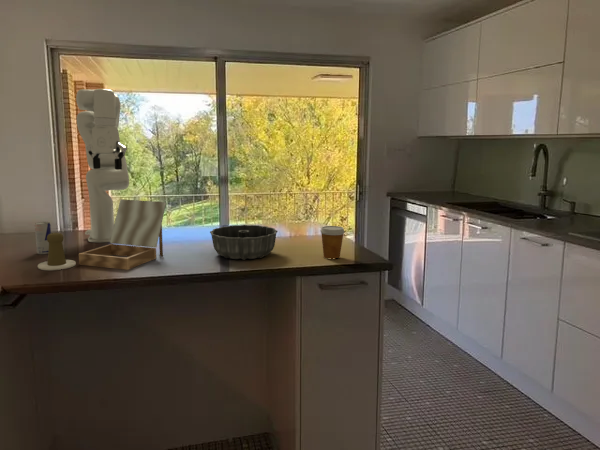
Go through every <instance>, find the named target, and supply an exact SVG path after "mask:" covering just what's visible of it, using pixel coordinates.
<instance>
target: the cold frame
mask: <svg viewBox="0 0 600 450" xmlns="http://www.w3.org/2000/svg"><path fill="white" fill-rule="evenodd" d="M118 204H119V205H118V208H117V212H116V215H115V219H114V228H113V232H112V236H111V241H110V242H109V244H106V245H103V246H99V247H96V248H93V249H90V250H87V251H83V252H79V253H78V265H80V266H81V265H82V266H90V267H99V268H107V269H108V268H110V269H118V270H119V269H120V270H126V271H129V270H131V269H134V268H136V267H138V266H141V265H143V264H146V263H148V262H150V261H154V260H156V259H157V247H158V246H159V247H158V248H159V256H161V257H163V256H164V254H163V253H164V249H163V248H164V247H163V246H164V245H163V243H164V242H163V220H164V215H165V209H166V205H167V202H166V201H154V200H152V201H151V200H140V199H139V200H138V199H137V200H136V199H123V198H122V199H120V200H119V203H118ZM158 244H159V245H158Z"/></svg>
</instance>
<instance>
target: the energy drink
mask: <svg viewBox="0 0 600 450" xmlns="http://www.w3.org/2000/svg"><path fill="white" fill-rule="evenodd" d="M34 231H35V232H34V233H35V243H36V244H35V245H36V253H37V255H48V250H49V242H48V241H47V236H48V235H49V234H51V233H52V225H51V223H50V221H38V222H35V225H34Z"/></svg>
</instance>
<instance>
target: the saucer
mask: <svg viewBox="0 0 600 450" xmlns="http://www.w3.org/2000/svg"><path fill="white" fill-rule="evenodd" d="M47 263H48V260H47V261H44V262H40V263H38V264H37V269H38V270H39V271H40V270H41V271H59V270H61V269H62V270H67V269H71V268H73V267H75V266H76V260H72V259H66V264H64V265H59V266H49V265H47ZM62 270H61V271H62Z"/></svg>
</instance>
